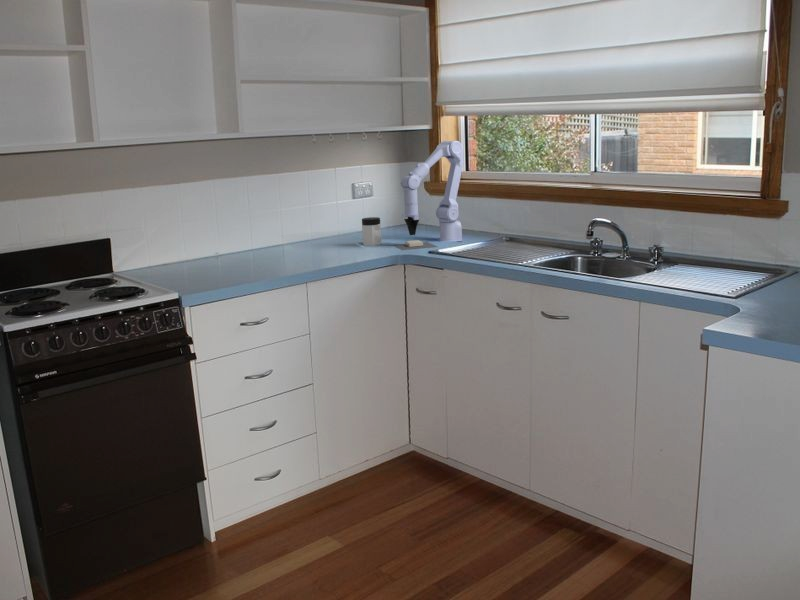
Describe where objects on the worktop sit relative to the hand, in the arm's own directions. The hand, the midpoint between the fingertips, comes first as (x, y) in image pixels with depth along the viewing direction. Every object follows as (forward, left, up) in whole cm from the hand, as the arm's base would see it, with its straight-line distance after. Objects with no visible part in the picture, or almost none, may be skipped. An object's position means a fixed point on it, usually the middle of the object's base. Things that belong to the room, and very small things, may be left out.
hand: (412, 234), depth 349 cm
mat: (0, +3, -5) cm, 6 cm away
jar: (+15, -13, -5) cm, 21 cm away
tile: (0, -2, -3) cm, 4 cm away
